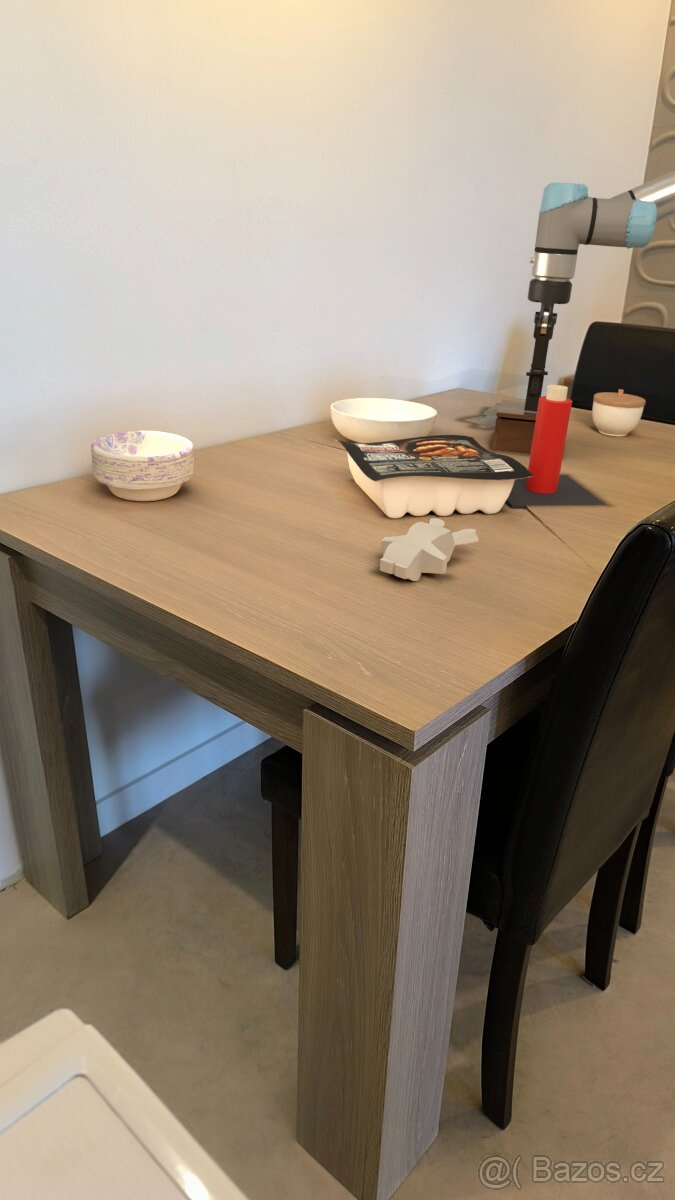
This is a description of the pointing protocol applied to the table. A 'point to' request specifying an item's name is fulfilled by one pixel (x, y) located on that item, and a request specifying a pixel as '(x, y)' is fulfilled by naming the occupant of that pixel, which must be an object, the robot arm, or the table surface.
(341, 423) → the serving bowl
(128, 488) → the paper bowls
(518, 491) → the mat
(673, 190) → the robot arm
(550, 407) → the ketchup
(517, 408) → the chest lid
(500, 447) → the chest
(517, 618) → the table surface
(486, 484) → the food packaging
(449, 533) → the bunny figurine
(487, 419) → the cloth
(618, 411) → the trinket box
